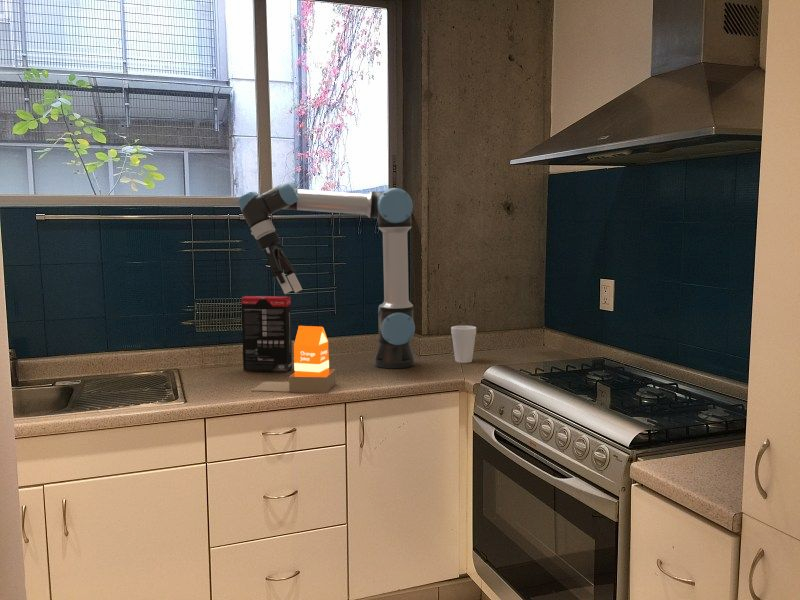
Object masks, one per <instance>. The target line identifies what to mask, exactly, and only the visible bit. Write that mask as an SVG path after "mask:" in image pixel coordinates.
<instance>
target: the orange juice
mask: <svg viewBox="0 0 800 600" xmlns="http://www.w3.org/2000/svg"><path fill="white" fill-rule="evenodd" d="M329 353H330V352H329V339H328V337H327V334H326V331H325V328H324V327H323V326H312V325H309V326H308V325H298V329H297V332H296V336H295V340H294V344H293V366H294V372H295V377H327V376H328V375H329V369H330V358H329V355H330V354H329Z"/></svg>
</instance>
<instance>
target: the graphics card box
mask: <svg viewBox="0 0 800 600" xmlns="http://www.w3.org/2000/svg"><path fill="white" fill-rule="evenodd" d="M240 301H241V302H240V303H241V307H240V308H241V329H242V331H241V333H242V364H243V365H242V366H243V367H242V370H243V371H244V372H245V371H247V372H249V371H250V372H252V371H253V372H279V373H281V372H283V373H287V372H289V371H290V370H291V369H293V353H292V352H293V347H292V346H293V345H292V307H291V306H292V303H291V296H287V295H286V296H282V295H281V296H279V295H278V296H277V295H275V296H273V295H271V296H270V295H269V296H268V295H266V296H265V295H261V296H260V295H256V296H255V295H246V296H245V295H244V296H241V297H240Z"/></svg>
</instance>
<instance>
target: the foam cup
mask: <svg viewBox="0 0 800 600" xmlns="http://www.w3.org/2000/svg"><path fill="white" fill-rule="evenodd" d="M450 333H451V338H452V339H451V340H452V345H453V354H454V360H455V362H456V363H461V364H462V363H464V364H467V363H472V362H473V357H474V351H475V350H474V349H475V343H476V335H477V327H476V326H474V325H455V326H454V325H453V326H451V327H450Z"/></svg>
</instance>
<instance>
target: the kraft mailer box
mask: <svg viewBox="0 0 800 600" xmlns="http://www.w3.org/2000/svg"><path fill="white" fill-rule="evenodd" d="M336 383H337V381H336V369H335V368H334V369H331V368H329V375H328V376H327V377H295V371H294V372H293V373H292V374H291V375H289V376H288V381H263V382H261V383H260V384H259V385H257V386H256V387H254V388H253V389H251V392H259V391H273V392H272V393H311V394H312V393H313V394H314V393H315V394H316V393H317V394H320V393H322V394H327V393H329V392H330V390H332V389H333V388H334V386H335V385H336Z"/></svg>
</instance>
